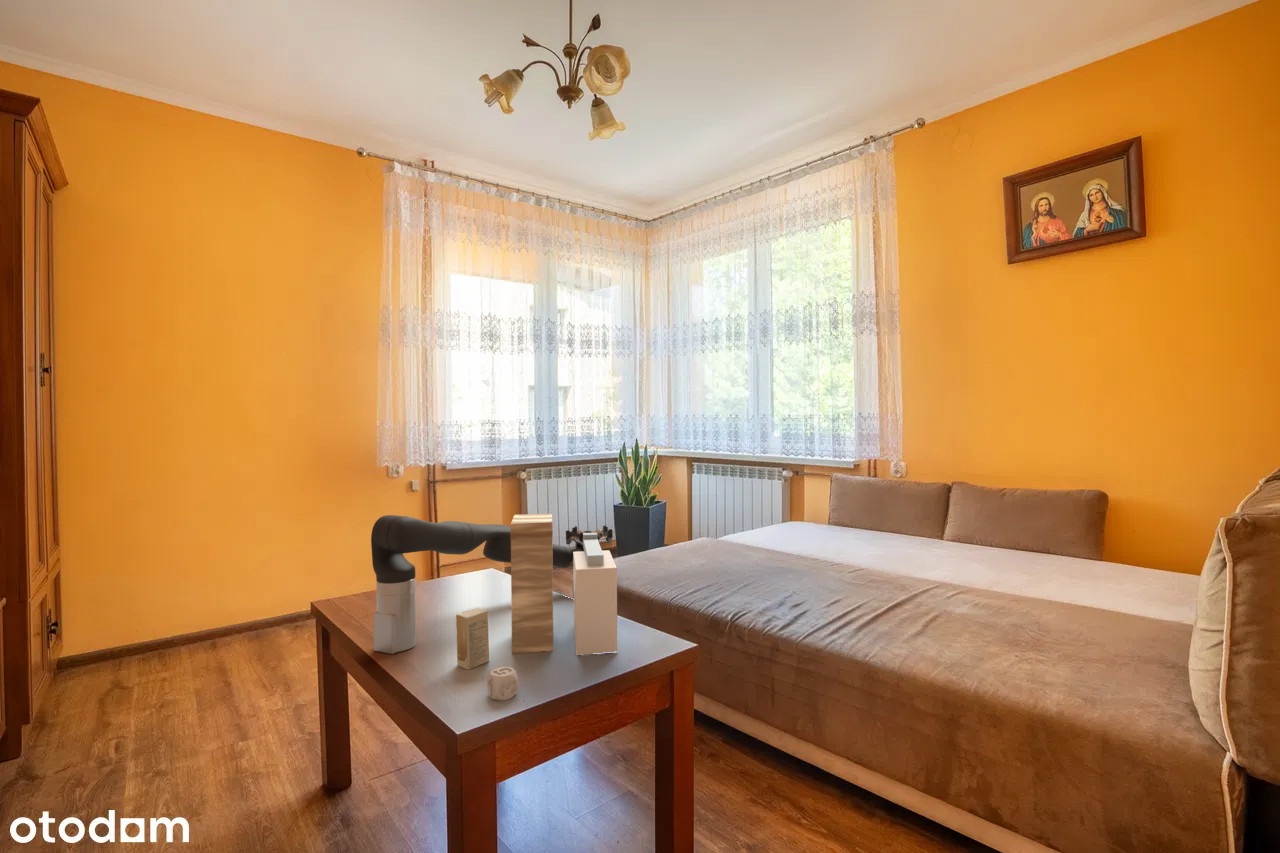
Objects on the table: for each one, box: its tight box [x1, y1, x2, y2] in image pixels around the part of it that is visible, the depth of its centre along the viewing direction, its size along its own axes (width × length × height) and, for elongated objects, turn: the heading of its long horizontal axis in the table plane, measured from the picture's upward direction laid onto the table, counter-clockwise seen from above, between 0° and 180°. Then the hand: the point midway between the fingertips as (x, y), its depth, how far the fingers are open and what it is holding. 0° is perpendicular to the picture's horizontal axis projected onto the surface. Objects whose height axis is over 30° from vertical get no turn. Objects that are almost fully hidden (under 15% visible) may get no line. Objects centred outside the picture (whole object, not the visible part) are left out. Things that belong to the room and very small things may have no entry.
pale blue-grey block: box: [583, 533, 604, 566], centre depth 160 cm, size 24×4×4 cm, turn 8°
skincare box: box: [455, 607, 490, 670], centre depth 140 cm, size 6×4×12 cm
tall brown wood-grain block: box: [510, 513, 554, 654], centre depth 153 cm, size 14×10×32 cm
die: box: [486, 666, 520, 702], centre depth 124 cm, size 5×5×5 cm
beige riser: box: [572, 549, 618, 655], centre depth 155 cm, size 20×10×21 cm, turn 8°
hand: (590, 528), depth 176 cm, fingers open, 8 cm apart
